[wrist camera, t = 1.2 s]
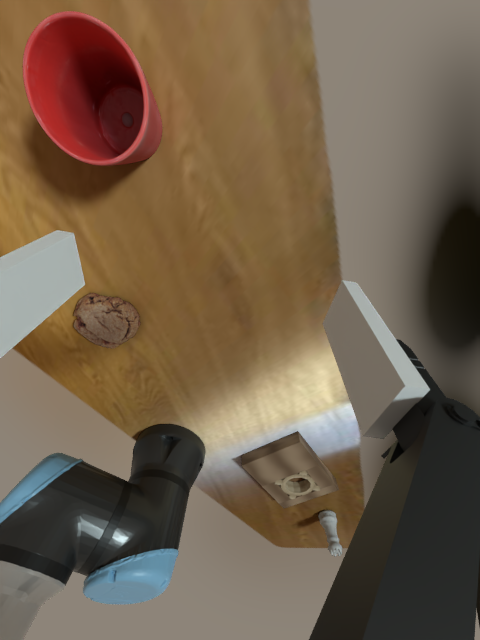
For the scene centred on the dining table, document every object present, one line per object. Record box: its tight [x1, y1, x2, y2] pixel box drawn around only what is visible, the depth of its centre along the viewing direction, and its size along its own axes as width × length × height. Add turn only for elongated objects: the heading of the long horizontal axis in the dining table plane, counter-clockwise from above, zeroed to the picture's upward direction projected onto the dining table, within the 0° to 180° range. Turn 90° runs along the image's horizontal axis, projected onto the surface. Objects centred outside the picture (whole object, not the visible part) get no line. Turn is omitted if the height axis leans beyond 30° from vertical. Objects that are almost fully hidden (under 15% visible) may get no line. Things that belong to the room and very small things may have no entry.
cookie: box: [74, 293, 140, 349], centre depth 42 cm, size 10×11×3 cm
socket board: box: [242, 432, 339, 508], centre depth 56 cm, size 14×18×2 cm
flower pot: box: [23, 11, 162, 166], centre depth 27 cm, size 11×11×10 cm
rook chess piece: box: [318, 510, 342, 556], centre depth 61 cm, size 4×4×8 cm
